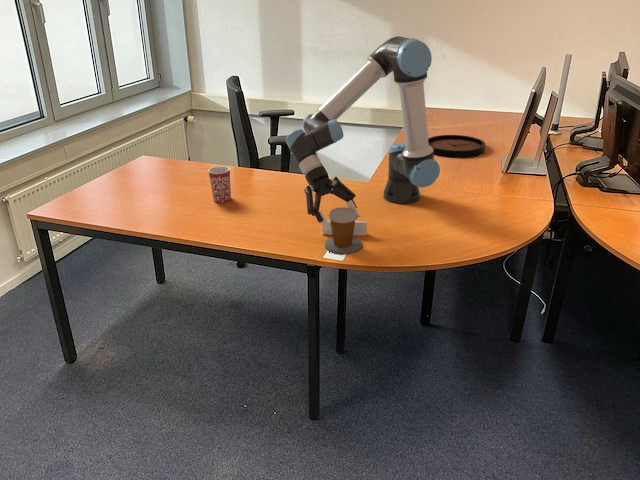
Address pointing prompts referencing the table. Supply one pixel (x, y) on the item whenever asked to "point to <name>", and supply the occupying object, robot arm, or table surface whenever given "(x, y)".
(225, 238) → the table surface
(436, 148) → the wall clock
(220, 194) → the mug
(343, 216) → the disposable coffee cup
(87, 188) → the table surface
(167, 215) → the table surface
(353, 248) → the rubber pad
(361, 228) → the low wall
